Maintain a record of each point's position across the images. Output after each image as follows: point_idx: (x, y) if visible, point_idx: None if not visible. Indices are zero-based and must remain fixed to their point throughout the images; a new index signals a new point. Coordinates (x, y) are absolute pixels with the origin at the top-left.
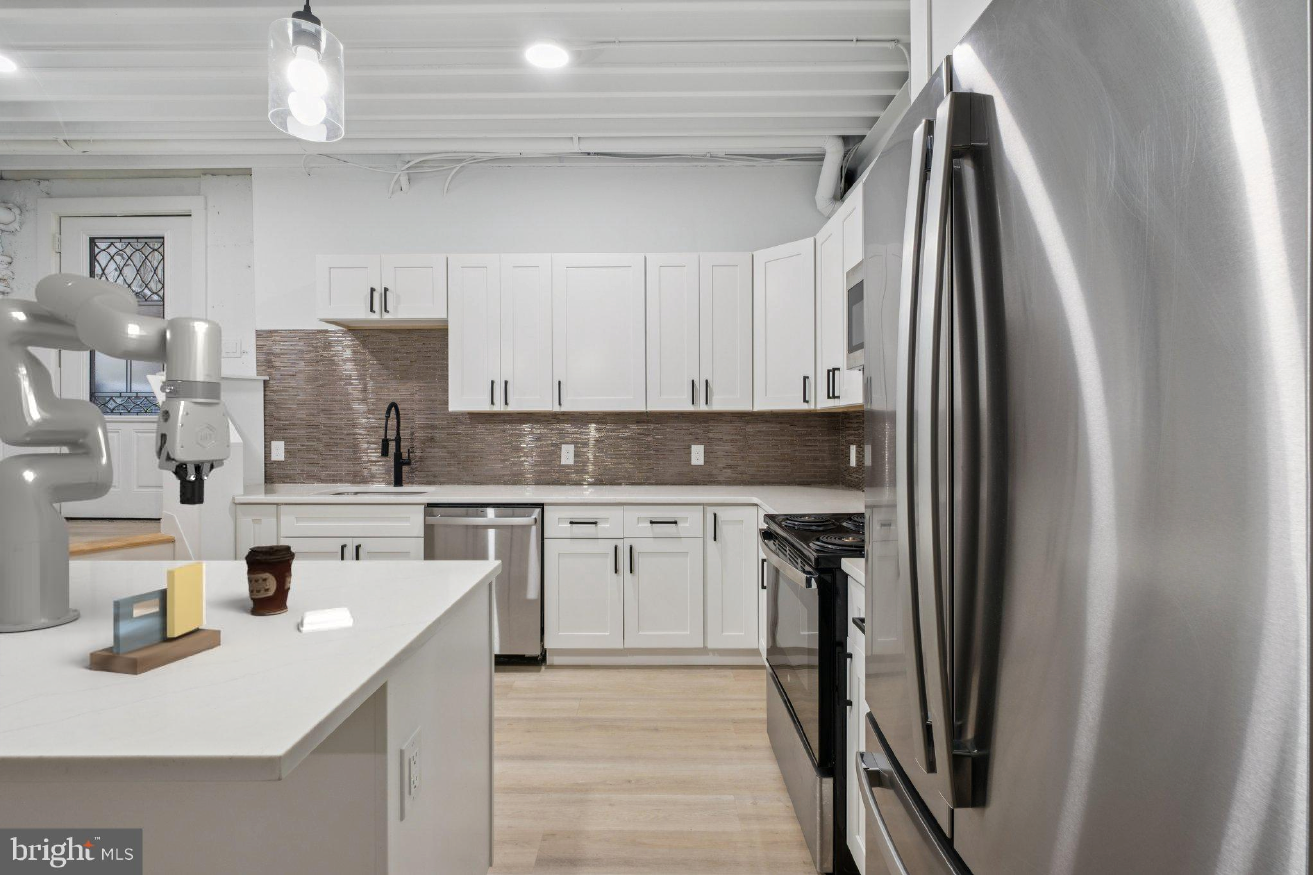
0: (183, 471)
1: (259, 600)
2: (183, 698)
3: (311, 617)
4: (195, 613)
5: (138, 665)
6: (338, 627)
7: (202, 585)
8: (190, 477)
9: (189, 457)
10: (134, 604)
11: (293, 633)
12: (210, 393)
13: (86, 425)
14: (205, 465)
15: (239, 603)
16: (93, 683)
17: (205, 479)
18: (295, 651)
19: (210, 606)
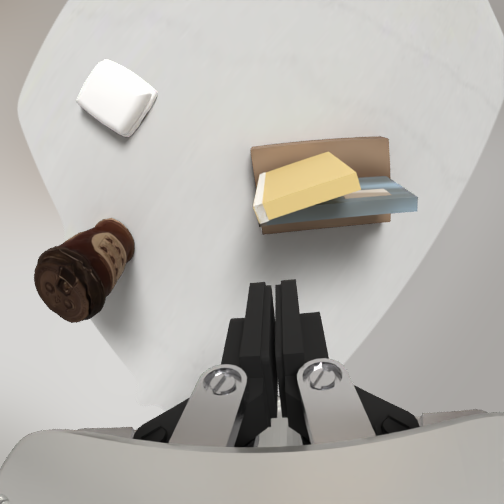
0: (370, 415)
1: (123, 243)
2: (405, 15)
3: (134, 90)
4: (283, 171)
5: (382, 137)
6: (120, 65)
7: (264, 189)
8: (330, 376)
9: (460, 447)
10: (389, 194)
11: (165, 100)
12: None
13: None
14: (211, 441)
15: (117, 314)
16: (413, 159)
17: (223, 365)
18: (228, 20)
19: (144, 334)
